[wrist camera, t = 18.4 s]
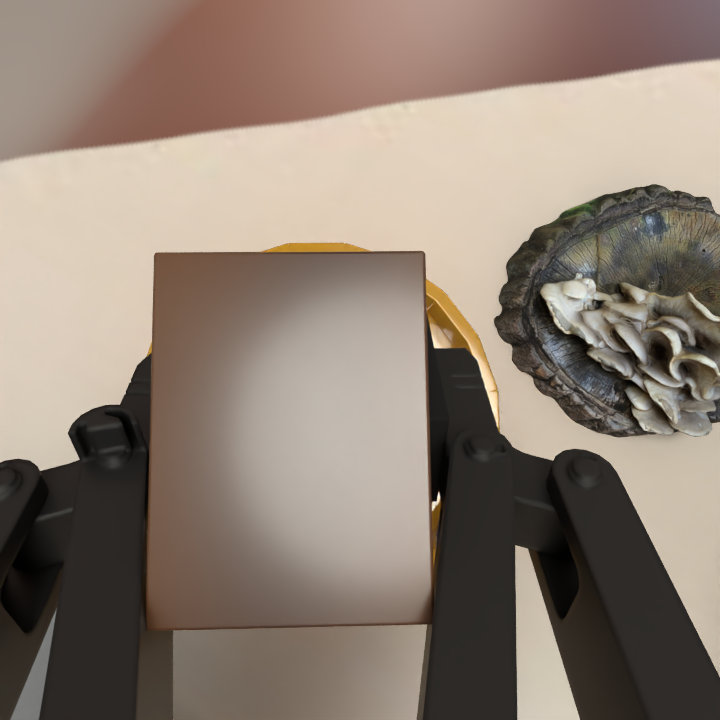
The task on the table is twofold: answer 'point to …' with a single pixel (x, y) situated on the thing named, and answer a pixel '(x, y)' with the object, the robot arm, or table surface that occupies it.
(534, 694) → the table surface
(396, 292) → the walnut block
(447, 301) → the bowl
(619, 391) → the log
